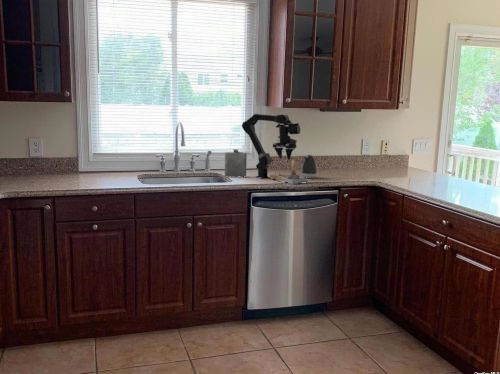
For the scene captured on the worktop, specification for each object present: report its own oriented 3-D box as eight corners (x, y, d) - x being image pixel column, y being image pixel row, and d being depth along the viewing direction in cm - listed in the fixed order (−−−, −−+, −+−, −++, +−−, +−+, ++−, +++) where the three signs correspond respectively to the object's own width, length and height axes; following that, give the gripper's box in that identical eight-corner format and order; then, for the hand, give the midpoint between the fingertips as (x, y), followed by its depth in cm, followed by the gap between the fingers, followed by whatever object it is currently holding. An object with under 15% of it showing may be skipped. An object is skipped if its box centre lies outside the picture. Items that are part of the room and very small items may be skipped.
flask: (225, 175, 335) (225, 148, 331) (246, 176, 334) (246, 149, 330) (224, 176, 331) (224, 149, 328) (246, 177, 330) (246, 149, 327)
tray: (281, 181, 314) (281, 177, 314) (295, 180, 320) (295, 176, 320) (292, 184, 305) (292, 180, 305) (306, 183, 311) (306, 178, 311)
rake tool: (288, 181, 312) (288, 160, 310) (292, 180, 316) (293, 159, 314) (294, 182, 309) (295, 161, 307) (299, 181, 313) (300, 160, 310)
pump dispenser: (297, 177, 331) (298, 154, 328) (307, 176, 338) (308, 153, 336) (309, 179, 324) (310, 156, 321) (319, 178, 331) (320, 155, 329)
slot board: (270, 178, 325) (270, 174, 324) (282, 177, 330) (282, 173, 330) (281, 181, 315) (281, 177, 314) (293, 180, 320) (294, 176, 320)
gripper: (303, 133, 314) (303, 158, 317) (286, 133, 330) (286, 157, 333) (288, 135, 309) (289, 160, 311) (271, 134, 325) (272, 158, 327)
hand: (284, 159), depth 321 cm, fingers open, 9 cm apart
